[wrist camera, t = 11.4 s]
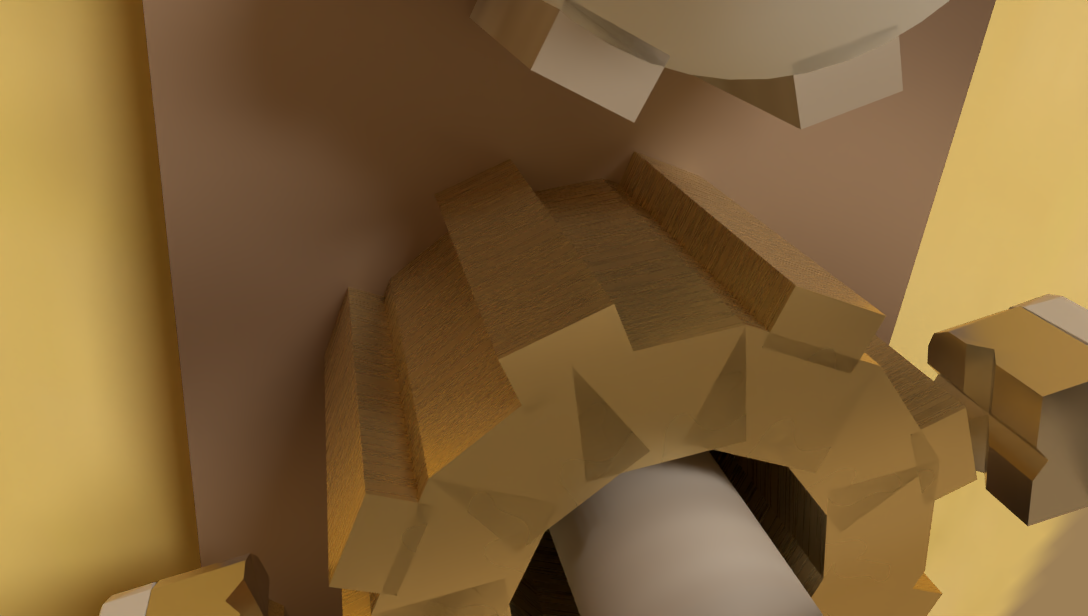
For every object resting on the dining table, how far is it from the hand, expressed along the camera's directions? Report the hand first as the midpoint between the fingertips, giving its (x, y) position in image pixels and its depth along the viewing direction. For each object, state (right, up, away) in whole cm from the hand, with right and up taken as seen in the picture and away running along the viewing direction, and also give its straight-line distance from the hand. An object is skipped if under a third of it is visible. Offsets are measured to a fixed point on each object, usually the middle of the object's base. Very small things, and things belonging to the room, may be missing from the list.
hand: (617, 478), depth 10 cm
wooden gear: (0, +1, +2) cm, 2 cm away
